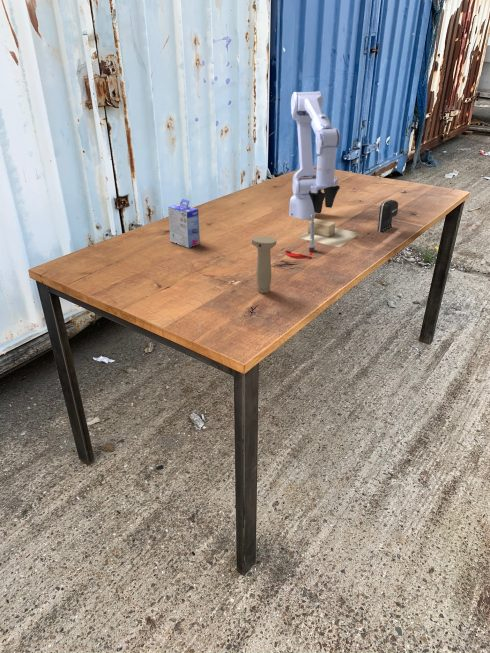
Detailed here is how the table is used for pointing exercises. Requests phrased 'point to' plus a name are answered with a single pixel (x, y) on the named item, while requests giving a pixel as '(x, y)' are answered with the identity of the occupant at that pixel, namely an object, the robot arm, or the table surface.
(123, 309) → the table surface
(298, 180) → the robot arm
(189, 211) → the ink cartridge box
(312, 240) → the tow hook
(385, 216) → the battery charger
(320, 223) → the block
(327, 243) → the beige square mat
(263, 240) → the handle
